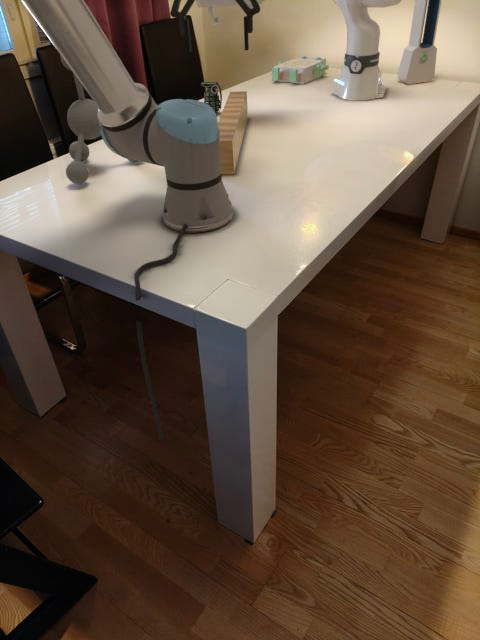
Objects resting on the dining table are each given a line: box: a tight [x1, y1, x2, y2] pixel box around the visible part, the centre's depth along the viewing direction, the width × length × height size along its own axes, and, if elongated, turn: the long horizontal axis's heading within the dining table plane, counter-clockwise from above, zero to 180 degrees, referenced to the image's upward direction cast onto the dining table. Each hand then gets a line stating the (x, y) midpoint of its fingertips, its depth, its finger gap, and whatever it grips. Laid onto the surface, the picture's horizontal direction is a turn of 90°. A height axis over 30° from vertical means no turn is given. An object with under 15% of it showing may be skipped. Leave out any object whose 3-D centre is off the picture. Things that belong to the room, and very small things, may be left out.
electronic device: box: [397, 0, 442, 85], centre depth 186 cm, size 12×8×30 cm, turn 105°
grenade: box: [200, 81, 223, 114], centre depth 169 cm, size 7×6×10 cm
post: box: [217, 90, 249, 175], centre depth 144 cm, size 50×6×9 cm, turn 175°
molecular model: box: [60, 55, 140, 185], centre depth 125 cm, size 24×22×30 cm
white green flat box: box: [271, 55, 330, 85], centre depth 207 cm, size 26×6×20 cm
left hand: (217, 50), depth 114 cm, fingers open, 13 cm apart
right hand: (232, 23), depth 143 cm, fingers open, 8 cm apart
